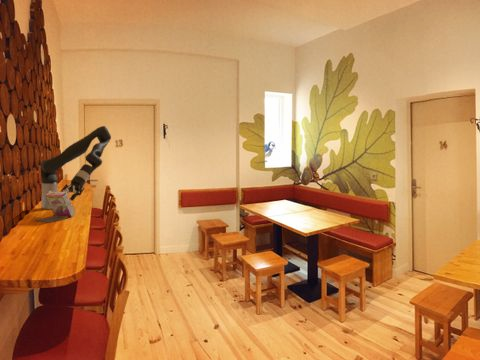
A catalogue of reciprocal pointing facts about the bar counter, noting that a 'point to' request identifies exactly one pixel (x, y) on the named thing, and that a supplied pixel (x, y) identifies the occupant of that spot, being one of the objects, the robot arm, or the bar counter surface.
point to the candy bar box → (60, 203)
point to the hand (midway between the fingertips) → (65, 199)
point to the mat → (52, 218)
